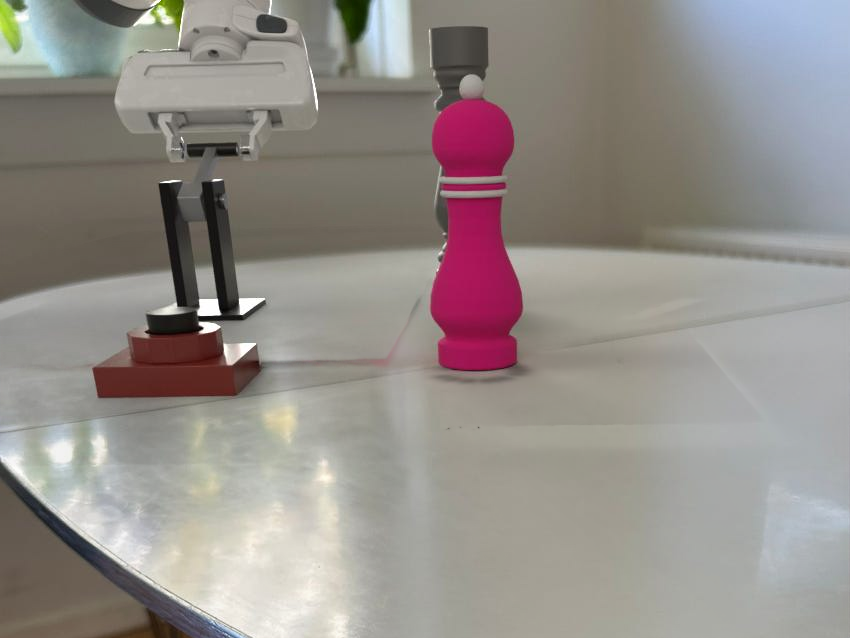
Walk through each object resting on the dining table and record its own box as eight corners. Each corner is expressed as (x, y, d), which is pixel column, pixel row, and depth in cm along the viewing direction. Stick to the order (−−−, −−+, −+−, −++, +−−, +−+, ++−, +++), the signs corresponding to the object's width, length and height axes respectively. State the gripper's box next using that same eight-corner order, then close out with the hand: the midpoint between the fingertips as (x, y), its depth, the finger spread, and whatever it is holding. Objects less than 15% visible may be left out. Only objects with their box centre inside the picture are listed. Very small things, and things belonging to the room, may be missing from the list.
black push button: (143, 340, 71) (138, 315, 71) (158, 331, 75) (154, 307, 74) (192, 339, 71) (188, 314, 71) (206, 330, 75) (202, 306, 74)
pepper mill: (435, 354, 83) (424, 78, 73) (522, 352, 82) (522, 75, 73) (429, 373, 76) (415, 73, 67) (523, 371, 76) (523, 70, 67)
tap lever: (192, 159, 101) (186, 135, 99) (241, 158, 101) (236, 134, 99) (168, 222, 94) (161, 197, 92) (221, 221, 94) (215, 196, 92)
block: (97, 398, 71) (86, 341, 69) (134, 374, 78) (125, 321, 77) (236, 396, 71) (228, 338, 69) (260, 371, 78) (254, 318, 76)
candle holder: (459, 297, 110) (451, 33, 98) (506, 301, 107) (503, 28, 95) (425, 305, 105) (412, 29, 94) (472, 309, 102) (465, 24, 91)
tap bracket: (181, 315, 103) (160, 179, 97) (267, 313, 103) (251, 177, 97) (150, 332, 94) (125, 184, 89) (244, 331, 94) (225, 182, 88)
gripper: (113, 25, 101) (97, 134, 97) (313, 20, 100) (305, 129, 96) (135, 78, 107) (121, 182, 103) (324, 73, 106) (317, 178, 102)
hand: (212, 157), depth 100 cm, fingers open, 6 cm apart
